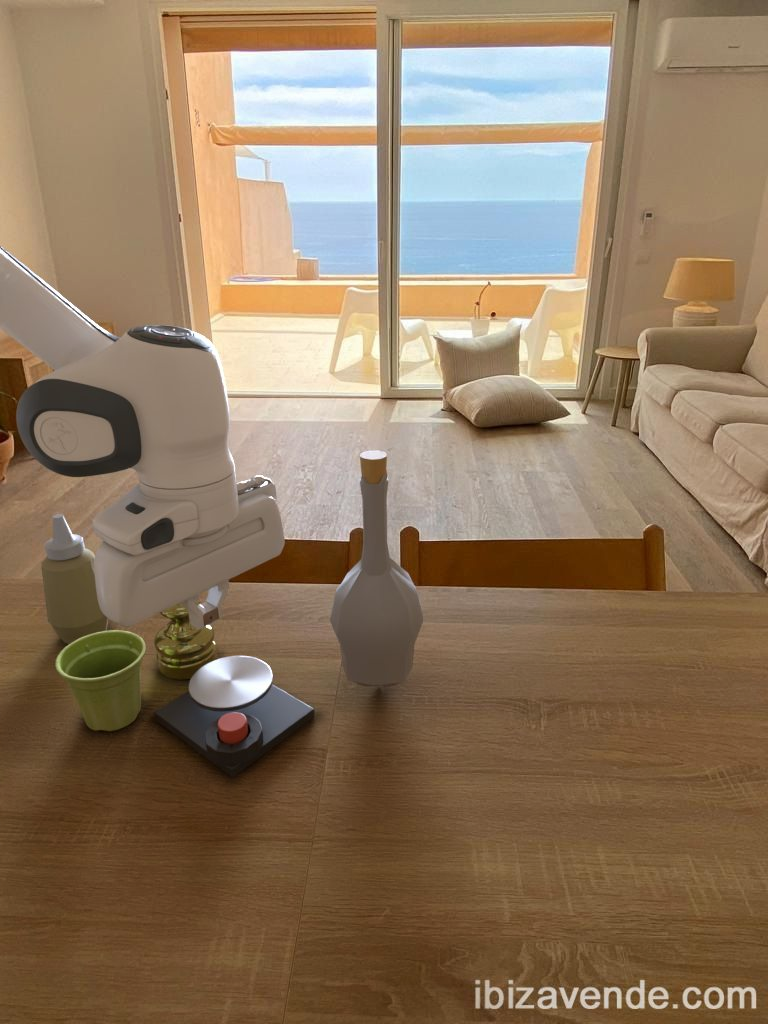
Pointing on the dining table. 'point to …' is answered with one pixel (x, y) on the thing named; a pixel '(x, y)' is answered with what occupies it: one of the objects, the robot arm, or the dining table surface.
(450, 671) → the dining table surface
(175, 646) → the gold ribbed tiered piece
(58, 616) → the squeeze bottle
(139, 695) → the plant pot
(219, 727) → the tare button
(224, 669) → the weighing pan
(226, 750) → the scale
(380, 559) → the bottle
